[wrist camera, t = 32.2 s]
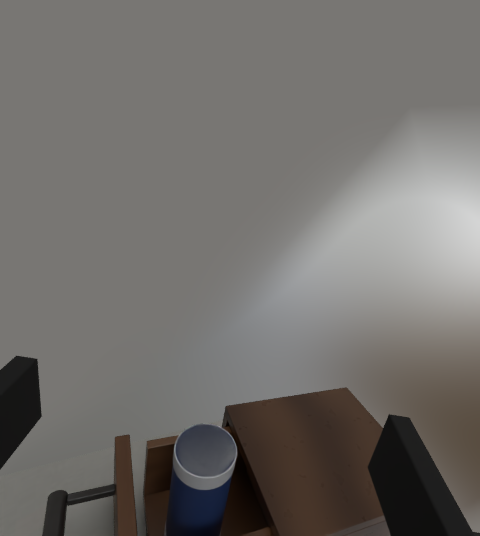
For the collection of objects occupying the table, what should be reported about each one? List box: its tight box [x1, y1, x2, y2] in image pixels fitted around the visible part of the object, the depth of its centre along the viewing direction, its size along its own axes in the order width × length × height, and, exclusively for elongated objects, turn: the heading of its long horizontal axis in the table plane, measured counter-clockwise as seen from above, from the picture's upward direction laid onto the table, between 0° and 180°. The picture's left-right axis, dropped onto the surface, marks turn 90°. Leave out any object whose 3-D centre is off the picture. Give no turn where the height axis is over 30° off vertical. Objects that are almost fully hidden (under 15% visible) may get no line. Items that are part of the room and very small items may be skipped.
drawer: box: [42, 426, 274, 536], centre depth 27 cm, size 18×12×7 cm, turn 110°
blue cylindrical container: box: [164, 423, 237, 536], centre depth 27 cm, size 5×5×10 cm
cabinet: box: [222, 388, 391, 536], centre depth 32 cm, size 15×13×9 cm
